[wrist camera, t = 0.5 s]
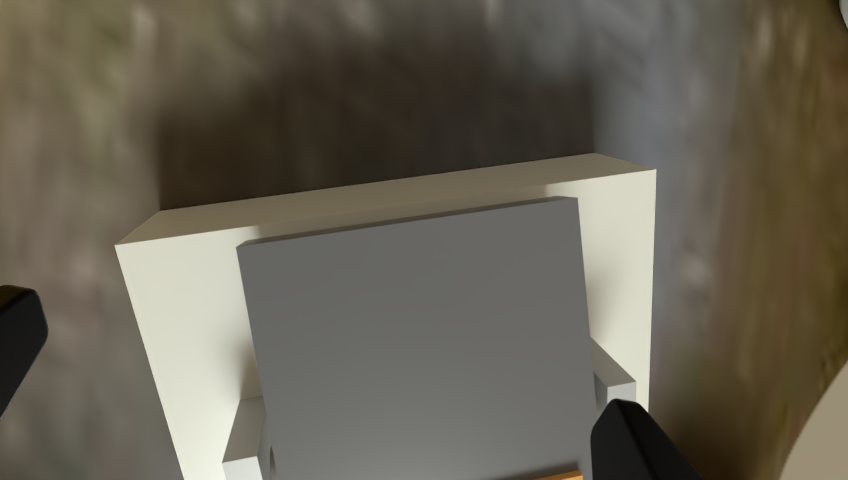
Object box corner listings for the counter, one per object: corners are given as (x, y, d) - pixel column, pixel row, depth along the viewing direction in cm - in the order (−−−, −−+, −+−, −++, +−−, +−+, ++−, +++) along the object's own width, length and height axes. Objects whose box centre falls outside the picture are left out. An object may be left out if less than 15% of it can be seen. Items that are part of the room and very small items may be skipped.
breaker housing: (595, 424, 27) (693, 551, 20) (235, 499, 25) (196, 673, 17) (595, 152, 23) (719, 186, 15) (159, 210, 20) (65, 283, 13)
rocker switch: (597, 573, 19) (625, 616, 17) (312, 643, 18) (308, 698, 16) (562, 194, 17) (588, 196, 16) (239, 240, 16) (225, 249, 14)
